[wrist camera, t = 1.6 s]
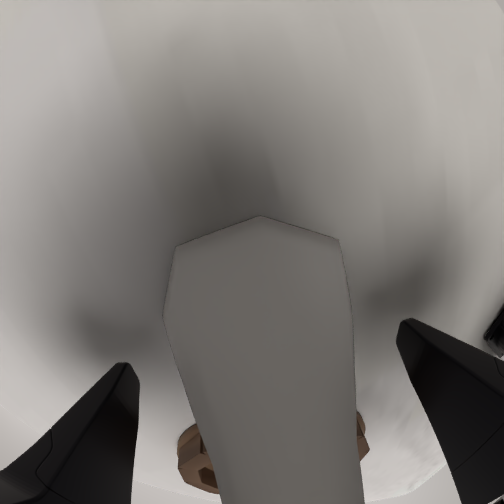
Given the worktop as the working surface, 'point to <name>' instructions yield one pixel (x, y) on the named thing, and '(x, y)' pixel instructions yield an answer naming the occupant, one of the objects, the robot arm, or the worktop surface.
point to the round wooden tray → (201, 469)
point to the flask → (268, 361)
